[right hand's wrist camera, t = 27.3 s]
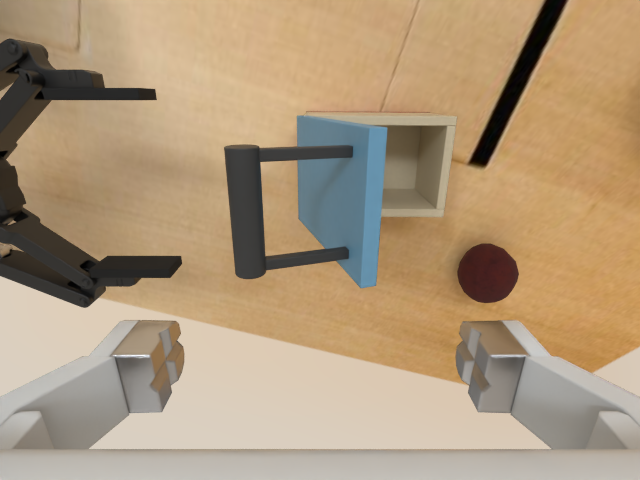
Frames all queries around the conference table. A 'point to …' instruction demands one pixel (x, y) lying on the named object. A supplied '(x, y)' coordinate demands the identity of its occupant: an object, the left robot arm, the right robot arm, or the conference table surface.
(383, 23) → the conference table surface
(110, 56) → the conference table surface
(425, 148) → the chest
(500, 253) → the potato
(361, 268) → the lid
